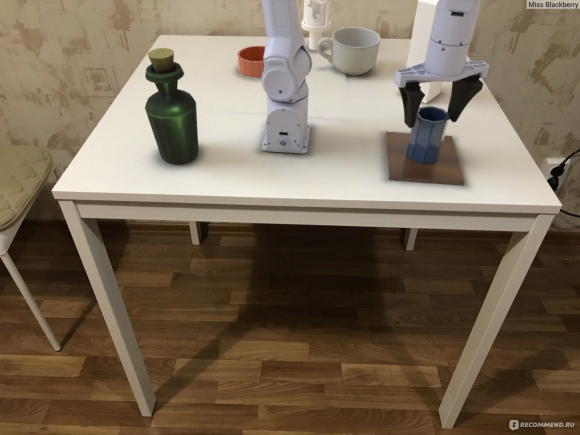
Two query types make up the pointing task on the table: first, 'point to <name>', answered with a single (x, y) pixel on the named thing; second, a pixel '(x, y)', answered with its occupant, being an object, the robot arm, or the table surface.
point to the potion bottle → (171, 109)
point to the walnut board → (408, 170)
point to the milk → (423, 44)
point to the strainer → (316, 20)
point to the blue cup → (427, 135)
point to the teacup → (352, 49)
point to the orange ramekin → (251, 61)
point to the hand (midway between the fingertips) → (430, 122)
